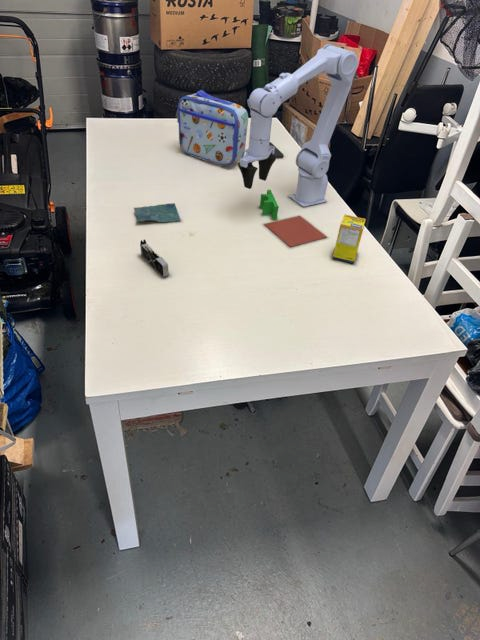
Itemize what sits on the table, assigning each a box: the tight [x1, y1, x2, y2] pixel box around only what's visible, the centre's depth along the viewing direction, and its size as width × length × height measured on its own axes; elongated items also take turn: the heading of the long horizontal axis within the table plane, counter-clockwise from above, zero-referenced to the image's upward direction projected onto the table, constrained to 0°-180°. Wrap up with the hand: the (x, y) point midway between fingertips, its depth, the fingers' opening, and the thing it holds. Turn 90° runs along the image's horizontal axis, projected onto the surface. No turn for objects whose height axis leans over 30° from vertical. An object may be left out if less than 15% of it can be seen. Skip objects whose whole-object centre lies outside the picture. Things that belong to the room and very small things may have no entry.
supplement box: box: [332, 214, 367, 265], centre depth 124 cm, size 6×6×11 cm
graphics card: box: [139, 239, 170, 278], centre depth 116 cm, size 12×3×5 cm, turn 37°
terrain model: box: [133, 202, 181, 223], centre depth 136 cm, size 13×8×2 cm, turn 108°
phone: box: [269, 141, 285, 159], centre depth 181 cm, size 7×1×15 cm
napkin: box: [264, 215, 327, 248], centre depth 136 cm, size 13×14×1 cm
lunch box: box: [175, 89, 249, 167], centre depth 165 cm, size 28×10×22 cm, turn 58°
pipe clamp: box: [259, 189, 279, 221], centre depth 142 cm, size 11×4×5 cm, turn 9°
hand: (255, 183), depth 136 cm, fingers open, 7 cm apart
